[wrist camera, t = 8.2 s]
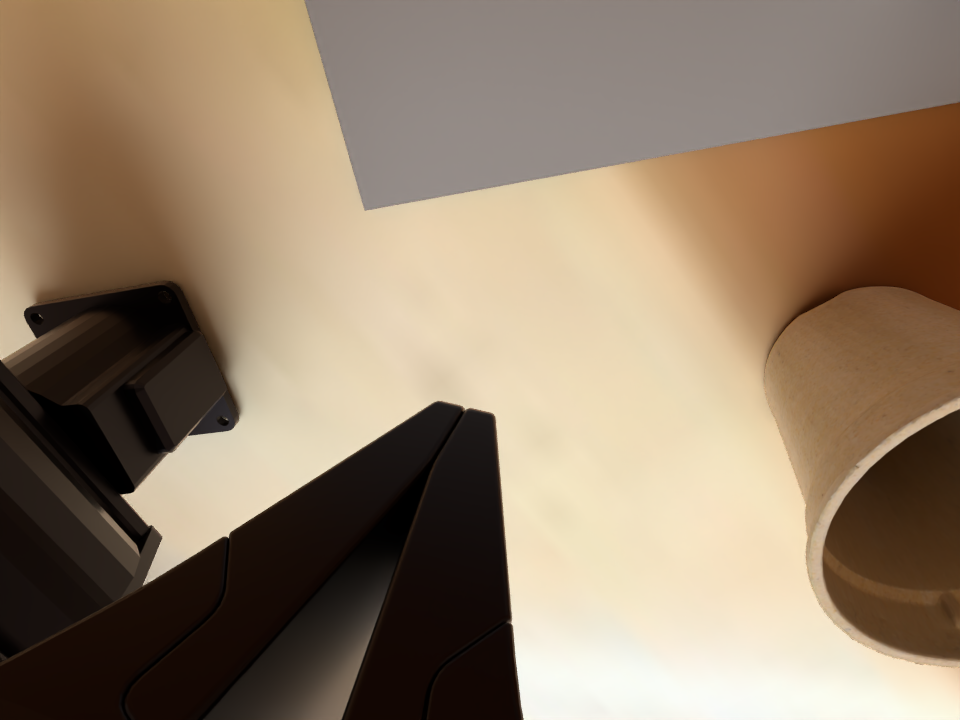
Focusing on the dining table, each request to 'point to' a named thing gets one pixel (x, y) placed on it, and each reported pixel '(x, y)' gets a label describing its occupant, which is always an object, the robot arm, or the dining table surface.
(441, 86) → the rubber mat
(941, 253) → the dining table surface
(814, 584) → the flower pot
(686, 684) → the dining table surface
